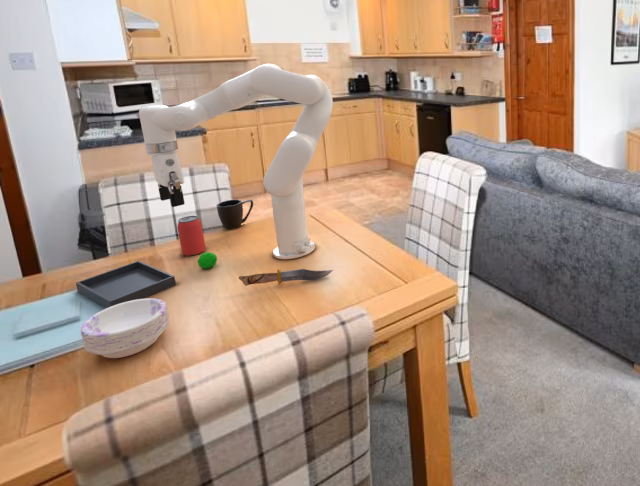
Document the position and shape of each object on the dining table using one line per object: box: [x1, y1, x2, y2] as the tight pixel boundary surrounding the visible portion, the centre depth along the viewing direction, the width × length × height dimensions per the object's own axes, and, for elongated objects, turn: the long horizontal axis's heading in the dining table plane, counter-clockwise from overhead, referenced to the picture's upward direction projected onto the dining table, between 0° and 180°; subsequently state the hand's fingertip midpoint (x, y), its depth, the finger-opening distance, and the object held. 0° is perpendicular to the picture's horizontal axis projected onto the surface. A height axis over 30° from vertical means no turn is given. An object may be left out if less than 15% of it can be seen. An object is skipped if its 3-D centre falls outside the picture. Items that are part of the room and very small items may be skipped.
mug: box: [216, 199, 254, 230], centre depth 176 cm, size 8×12×10 cm
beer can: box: [176, 215, 206, 257], centre depth 154 cm, size 7×7×12 cm
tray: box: [75, 260, 177, 309], centre depth 132 cm, size 21×15×3 cm
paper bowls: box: [80, 297, 170, 359], centre depth 106 cm, size 15×15×8 cm
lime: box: [197, 251, 218, 270], centre depth 143 cm, size 5×5×5 cm
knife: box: [238, 268, 334, 287], centre depth 132 cm, size 25×1×5 cm, turn 108°
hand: (172, 202), depth 140 cm, fingers open, 9 cm apart
